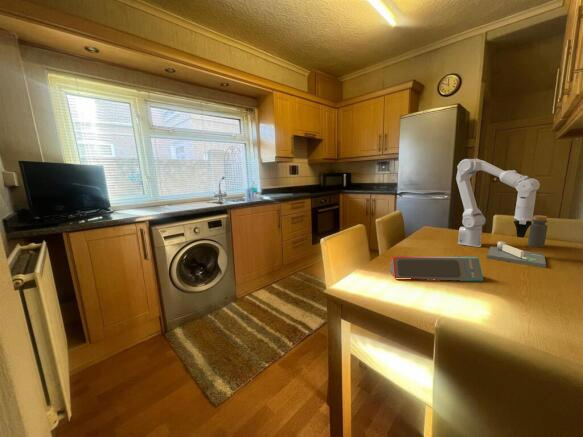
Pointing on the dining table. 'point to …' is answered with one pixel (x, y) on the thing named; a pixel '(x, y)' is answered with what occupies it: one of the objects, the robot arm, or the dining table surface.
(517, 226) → the robot arm
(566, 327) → the dining table surface
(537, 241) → the bottle
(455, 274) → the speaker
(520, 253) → the peg lever
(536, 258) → the board
